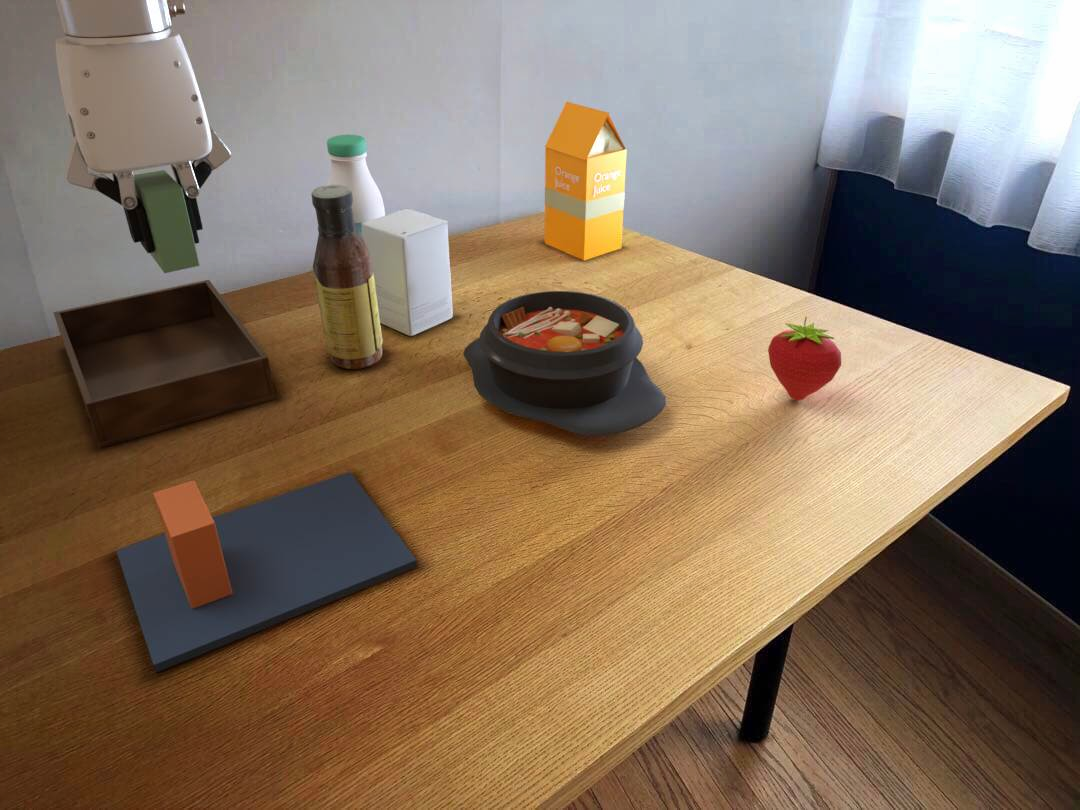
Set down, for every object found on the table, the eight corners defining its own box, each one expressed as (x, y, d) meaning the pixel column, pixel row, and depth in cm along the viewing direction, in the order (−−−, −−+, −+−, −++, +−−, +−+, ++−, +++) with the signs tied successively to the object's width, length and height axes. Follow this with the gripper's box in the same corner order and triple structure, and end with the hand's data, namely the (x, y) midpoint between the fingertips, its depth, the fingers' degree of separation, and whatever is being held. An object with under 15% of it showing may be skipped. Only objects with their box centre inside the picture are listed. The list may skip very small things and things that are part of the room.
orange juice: (582, 231, 133) (586, 97, 122) (622, 248, 127) (630, 108, 117) (543, 243, 129) (544, 105, 118) (583, 261, 123) (588, 117, 112)
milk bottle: (373, 274, 118) (358, 126, 108) (403, 293, 113) (390, 139, 103) (323, 289, 114) (301, 136, 104) (351, 309, 109) (332, 150, 99)
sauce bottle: (354, 341, 102) (333, 175, 91) (395, 354, 99) (378, 184, 89) (315, 364, 97) (288, 192, 86) (357, 379, 94) (335, 202, 84)
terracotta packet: (192, 609, 64) (171, 537, 60) (173, 562, 68) (152, 492, 64) (232, 594, 65) (214, 522, 61) (212, 549, 69) (193, 479, 66)
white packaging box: (455, 318, 107) (450, 220, 100) (409, 338, 102) (401, 237, 96) (415, 301, 111) (408, 206, 105) (370, 319, 107) (359, 221, 100)
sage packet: (164, 273, 74) (144, 194, 70) (148, 251, 78) (128, 175, 74) (199, 265, 75) (182, 187, 72) (182, 244, 80) (164, 169, 76)
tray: (100, 448, 83) (86, 404, 80) (65, 351, 99) (53, 312, 97) (275, 398, 91) (268, 357, 88) (216, 316, 107) (208, 279, 105)
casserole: (425, 369, 96) (419, 301, 92) (555, 324, 106) (556, 260, 101) (565, 476, 79) (567, 399, 75) (705, 411, 89) (714, 339, 84)
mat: (156, 673, 60) (153, 665, 59) (118, 557, 70) (115, 549, 69) (417, 567, 69) (416, 559, 68) (351, 478, 79) (350, 471, 78)
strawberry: (818, 424, 87) (836, 336, 82) (750, 399, 91) (763, 314, 86) (841, 400, 91) (860, 315, 86) (775, 377, 95) (789, 294, 90)
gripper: (208, 4, 73) (248, 214, 82) (-11, 20, 65) (62, 249, 75) (235, 14, 67) (274, 237, 77) (0, 34, 60) (77, 278, 70)
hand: (169, 241), depth 76 cm, fingers closed on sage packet, 3 cm apart
